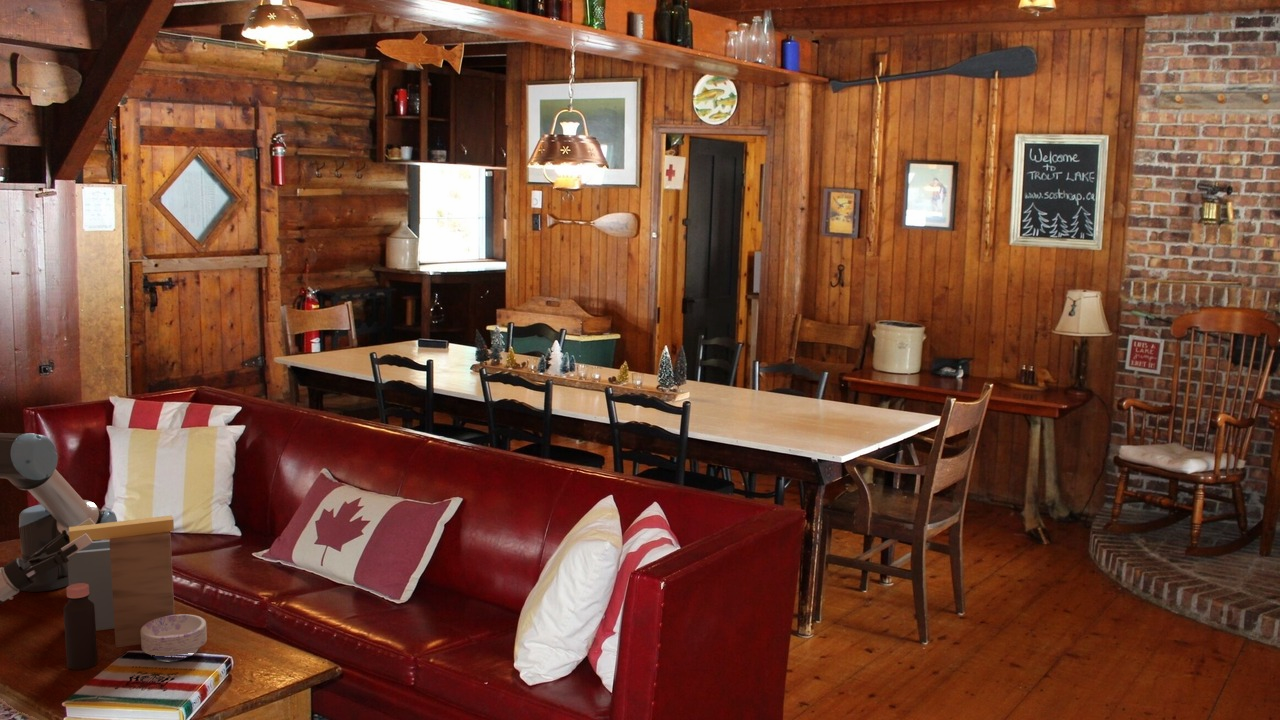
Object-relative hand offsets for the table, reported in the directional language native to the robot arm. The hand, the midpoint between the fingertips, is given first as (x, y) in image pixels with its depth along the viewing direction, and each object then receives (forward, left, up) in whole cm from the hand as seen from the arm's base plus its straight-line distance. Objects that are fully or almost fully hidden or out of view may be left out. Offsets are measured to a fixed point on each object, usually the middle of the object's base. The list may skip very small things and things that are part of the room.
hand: (91, 529), depth 295 cm
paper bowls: (+14, +18, -30) cm, 38 cm away
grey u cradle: (-14, +1, -30) cm, 33 cm away
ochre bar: (0, +7, -2) cm, 7 cm away
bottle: (+13, -3, -30) cm, 33 cm away
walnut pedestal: (0, +11, -30) cm, 32 cm away
